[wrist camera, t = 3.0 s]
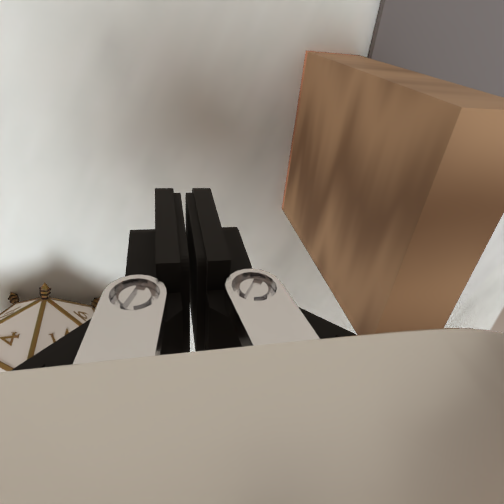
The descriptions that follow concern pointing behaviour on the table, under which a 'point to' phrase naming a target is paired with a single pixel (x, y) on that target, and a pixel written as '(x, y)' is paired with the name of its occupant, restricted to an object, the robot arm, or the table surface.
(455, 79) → the mat
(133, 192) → the table surface
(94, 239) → the table surface
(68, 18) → the table surface
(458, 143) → the walnut slab
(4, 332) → the game die
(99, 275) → the table surface
